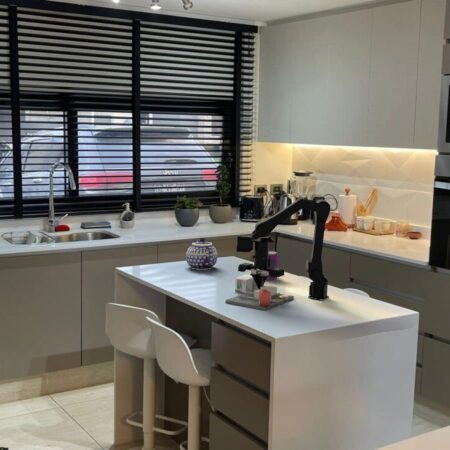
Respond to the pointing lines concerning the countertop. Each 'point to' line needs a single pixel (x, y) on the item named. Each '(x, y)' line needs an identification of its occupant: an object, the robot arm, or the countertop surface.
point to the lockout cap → (264, 297)
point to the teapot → (201, 255)
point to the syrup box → (245, 283)
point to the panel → (251, 302)
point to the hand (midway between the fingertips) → (260, 290)
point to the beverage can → (275, 257)
